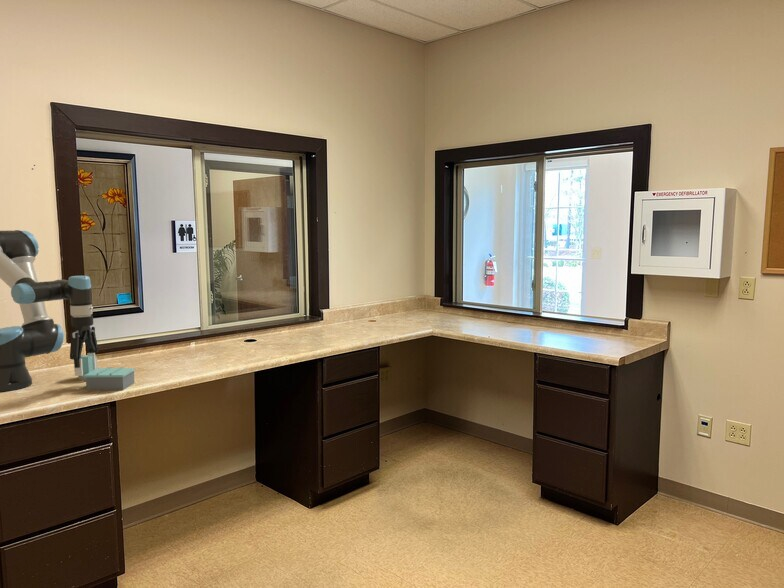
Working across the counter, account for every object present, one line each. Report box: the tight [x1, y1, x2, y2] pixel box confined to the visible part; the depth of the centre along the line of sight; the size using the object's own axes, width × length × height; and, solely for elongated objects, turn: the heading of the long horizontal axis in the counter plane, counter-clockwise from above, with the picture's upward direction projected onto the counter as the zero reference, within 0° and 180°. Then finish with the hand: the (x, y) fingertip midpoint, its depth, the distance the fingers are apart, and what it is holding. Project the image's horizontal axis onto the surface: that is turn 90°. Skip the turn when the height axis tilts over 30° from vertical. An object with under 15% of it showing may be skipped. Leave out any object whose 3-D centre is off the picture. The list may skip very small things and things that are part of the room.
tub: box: [85, 371, 135, 391], centre depth 222 cm, size 14×10×6 cm
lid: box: [80, 355, 136, 377], centre depth 221 cm, size 19×11×7 cm, turn 91°
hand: (85, 372), depth 221 cm, fingers open, 9 cm apart
